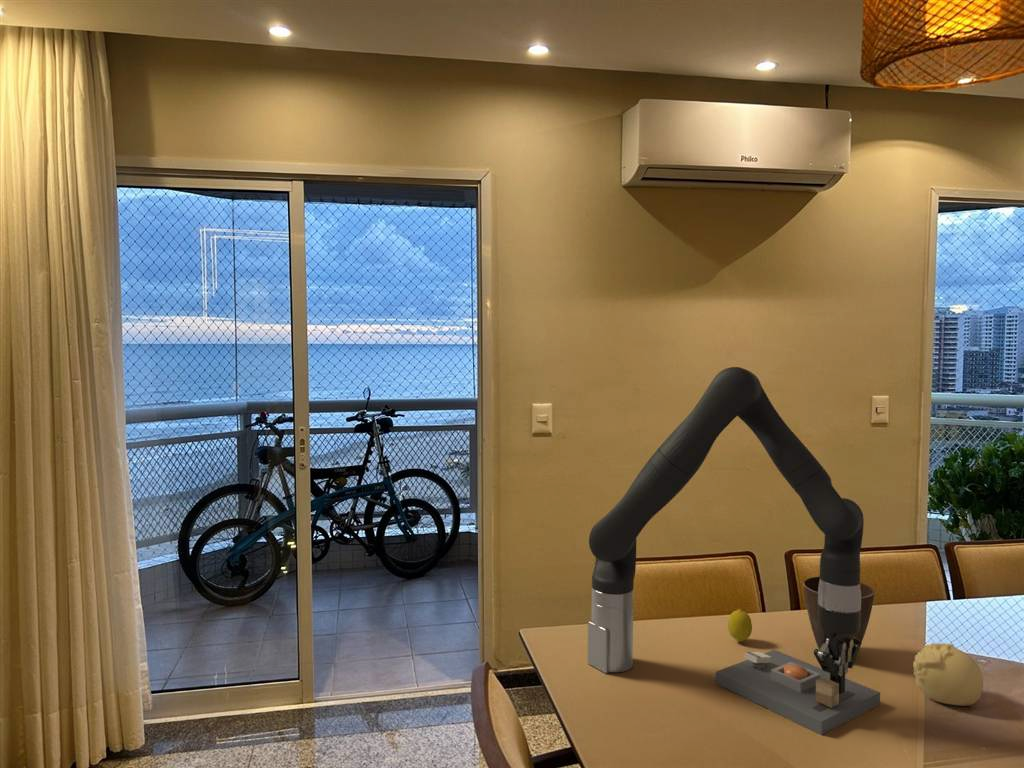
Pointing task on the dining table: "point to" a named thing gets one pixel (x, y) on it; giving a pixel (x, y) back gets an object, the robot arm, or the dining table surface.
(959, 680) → the sculpture
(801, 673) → the push button
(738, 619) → the lemon
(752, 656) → the rocker switch
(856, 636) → the plant pot
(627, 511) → the robot arm
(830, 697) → the slide paddle
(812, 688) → the control panel
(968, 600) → the dining table surface
